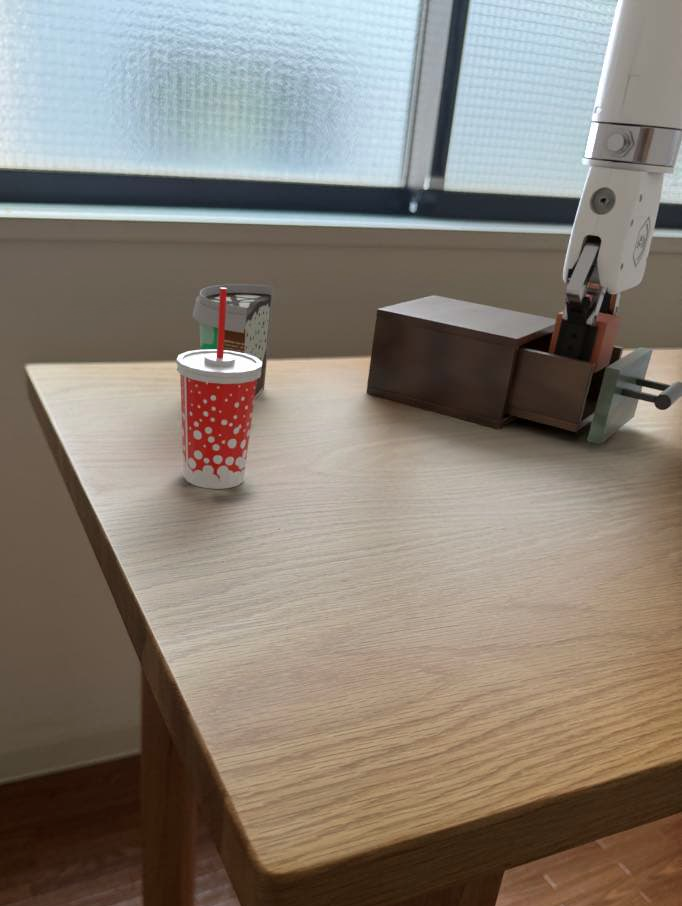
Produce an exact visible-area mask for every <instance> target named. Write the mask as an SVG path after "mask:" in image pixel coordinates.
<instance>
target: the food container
mask: <svg viewBox="0 0 682 906" xmlns="http://www.w3.org/2000/svg"><path fill="white" fill-rule="evenodd" d="M220 288H227V294H226V314H225V333H224V350H227V351H235V352H240V353H245V354H248V355H251V356H254V357H257V358H258V359H259V360H260V361H262V368H261V376H260V378H258V379H257V382H256V390H255V397H254V402H255V401H256V400H257V399H258V398H259V396H261V394H262V393H263V391H264V390H265V386H266V385H265V383H266V374H267V363H268V352H269V344H270V343H269V341H270V332H271V331H270V330H271V321H272V311H273V308H274V296H275V293H274V286H272V285H264V284H248V283H245V284H244V283H243V284H242V283H232V284H231V283H229V284H218V285H212V286H210V285H209V286H206V287H204V288H201V290H200V291H199V295H198V296H197V297H196V299H195V303H194V307H193V312H192V318H193V319H194V320H196V321H197V322H198V323H199V341H200V342H199V343H200V345H199V346H200V350H213V349H216V350H217V339H218V318H219V297H220Z"/></svg>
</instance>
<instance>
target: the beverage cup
mask: <svg viewBox="0 0 682 906" xmlns="http://www.w3.org/2000/svg"><path fill="white" fill-rule="evenodd" d="M226 294H227V288H220V297H219V318H218V339H217V350H216V349H213V350H201V349H196V350H188V351H185V352H182V353H180V354H178V356H177V358H176V365H177V366H176V367H177V368H176V371H177V372H178V373H179V378H180V405H181V406H180V409H181V410H180V411H181V432H182V433H181V437H182V439H181V441H182V467H183V468H182V469H183V478H184V480H185V481H186V482H187V483H189V484H191V485H193V486H196V487H200V488H203V489H211V490H223V489H231V488H235V487H238V486H240V485H241V484H242V483H244V480H245V474H246V473H245V472H246V466H247V465H246V464H247V457H248V451H249V443H250V442H249V441H250V435H251V429H252V427H251V426H252V419H253V412H254V405H255V401H254V397H255V390H256V382H257V379H258V378H260V376H261V368H262V361H260V360H259V359H258V358H257V357H254V356H251V355H248V354H245V353H240V352H235V351H227V350H224V333H225V314H226Z"/></svg>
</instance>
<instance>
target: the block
mask: <svg viewBox="0 0 682 906" xmlns="http://www.w3.org/2000/svg"><path fill="white" fill-rule="evenodd" d="M563 312H564V310H562V311H560V312H557V314H556V318H555V319H556V322H555V326H554V330H553V335H552V339H551V344H550V348H549V352H548V353H551V354H554V351H555V347H556V343H557V338H558V334H559V330H560V326H561V321H562V315H563ZM621 320H622V316H620V315H617V314H616V315H611V314H605V313H600V312H599V313H598V317H597V320H596V323H595V325H594V326H597V327H598V331H597V335H596V338H595V342H594V346H593V350H592V354H591V358H590V362H592V363H595V367H594V371H593V373H596V372H597V371H599V370H601V369H603V368H604V367H606V366H608V365H609V363H610V359H611V355H612V351H613V347H614V345H615V344H616V340H617V335H618V332H619V328H620V326H621V325H620V324H621Z"/></svg>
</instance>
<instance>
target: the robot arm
mask: <svg viewBox="0 0 682 906" xmlns="http://www.w3.org/2000/svg"><path fill="white" fill-rule="evenodd" d="M681 145H682V0H617V3H616V8H615V13H614V16H613V21H612V24H611V29H610V34H609V37H608V44H607V47H606V51H605V56H604V61H603V65H602V69H601V74H600V78H599V83H598V88H597V93H596V96H595V101H594V105H593V110H592V114H591V118H590V123H589V127H588V131H587V137H586V142H585V145H584V149H583V154H582V157H581V162H580V164H581V165H583V166H588V167H589V166H590V167H589V169H588V172H587V175H586V179H585V182H584V185H583V188H582V191H581V196H580V199H579V202H578V206H577V210H576V214H575V216H574V217H575V218H574V221H573V225H572V227H571V228H572V229H571V232H570V237H569V240H568V244H567V250H566V253H565V258H564V263H563V270H562V280H563V282H564V284H565V285H566V289H565V297H566V298H565V305H564V308H563V311H564V312H563V315H562V321H561V326H560V330H559V334H558V338H557V343H556V347H555V351H554V354H555V355H560V356H564V357H569V358H573V359H578V360H583V361H587V362H590V358H591V354H592V350H593V346H594V342H595V338H596V335H597V331H598V327H597V326H594V325H595V323H596V320H597V317H598V313H599V312H600V313H605V314H611V315H616V316H617V314H618V311H619V305H620V301H621V296H622V292H623V293H624V292H626V291H628V290H630V289H633V288H635V287H637V286H638V285H640V284H641V282H642V281H643V278H644V276H645V271H646V267H647V263H648V259H649V258H648V257H649V255H650V254H649V253H650V249H651V245H652V240H653V235H654V230H655V227H656V222H657V217H658V214H659V213H658V212H659V208H660V202H661V197H662V193H663V192H662V191H663V184H664V176H665V174H668V175H669V174H674V171H675V166H676V164H677V160H678V157H679V154H680V149H681Z"/></svg>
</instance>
